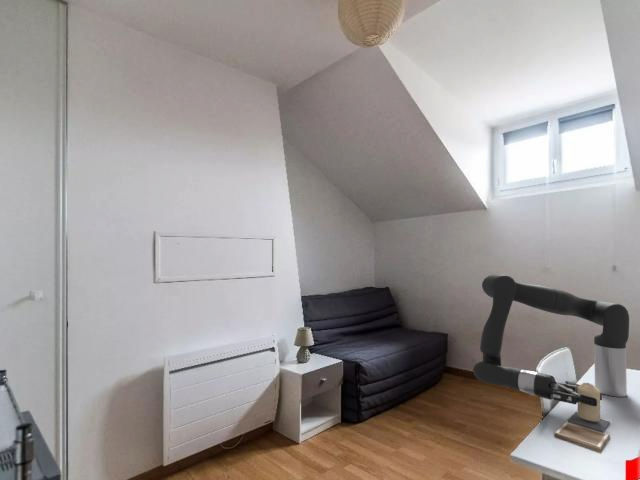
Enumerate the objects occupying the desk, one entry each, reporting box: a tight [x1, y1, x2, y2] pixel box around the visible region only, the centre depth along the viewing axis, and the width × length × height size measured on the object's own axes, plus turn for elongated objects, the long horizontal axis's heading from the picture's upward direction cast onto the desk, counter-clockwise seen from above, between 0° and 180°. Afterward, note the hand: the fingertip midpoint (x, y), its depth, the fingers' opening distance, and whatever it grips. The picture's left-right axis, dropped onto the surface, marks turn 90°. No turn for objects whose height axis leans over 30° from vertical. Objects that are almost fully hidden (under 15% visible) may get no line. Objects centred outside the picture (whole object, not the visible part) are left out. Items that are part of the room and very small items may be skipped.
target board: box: [553, 421, 611, 453], centre depth 100 cm, size 11×10×1 cm
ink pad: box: [567, 411, 611, 433], centre depth 109 cm, size 9×9×1 cm
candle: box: [577, 382, 601, 422], centre depth 109 cm, size 6×6×10 cm
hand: (599, 399), depth 107 cm, fingers closed on candle, 5 cm apart
